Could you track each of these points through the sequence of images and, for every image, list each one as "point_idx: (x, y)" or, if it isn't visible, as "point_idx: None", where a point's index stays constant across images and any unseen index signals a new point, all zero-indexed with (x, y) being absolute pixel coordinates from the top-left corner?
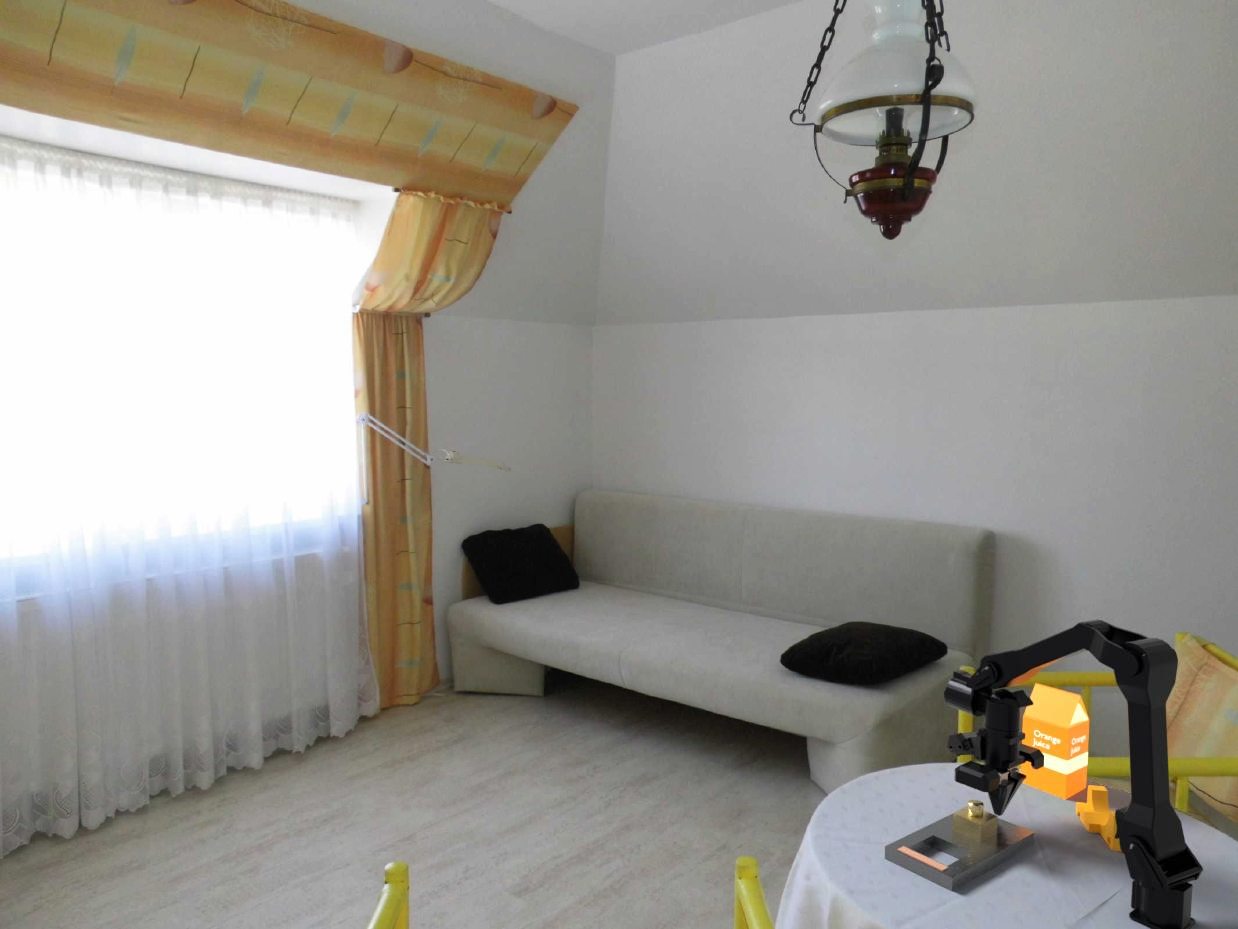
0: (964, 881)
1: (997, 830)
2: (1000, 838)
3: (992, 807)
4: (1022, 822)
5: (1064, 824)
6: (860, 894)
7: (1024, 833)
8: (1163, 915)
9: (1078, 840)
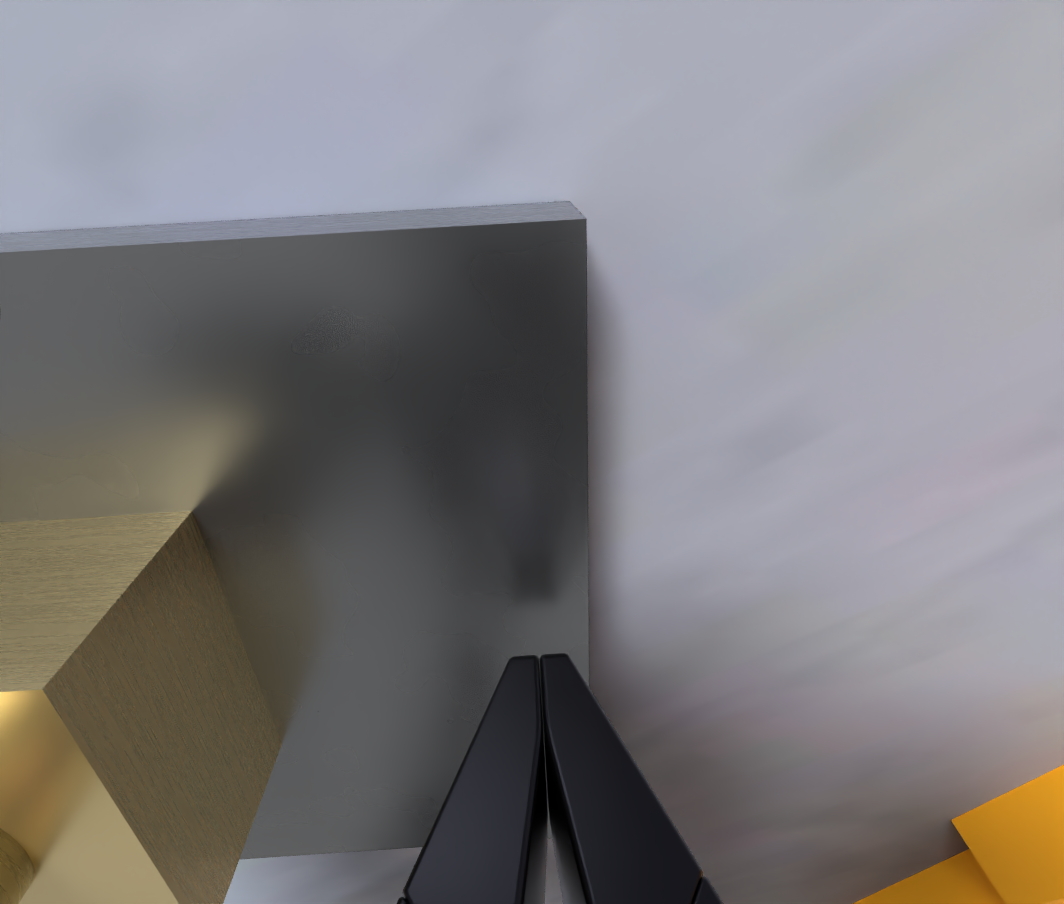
0: None
1: (340, 719)
2: None
3: (483, 718)
4: (875, 556)
5: (1049, 703)
6: None
7: None
8: None
9: (852, 819)
